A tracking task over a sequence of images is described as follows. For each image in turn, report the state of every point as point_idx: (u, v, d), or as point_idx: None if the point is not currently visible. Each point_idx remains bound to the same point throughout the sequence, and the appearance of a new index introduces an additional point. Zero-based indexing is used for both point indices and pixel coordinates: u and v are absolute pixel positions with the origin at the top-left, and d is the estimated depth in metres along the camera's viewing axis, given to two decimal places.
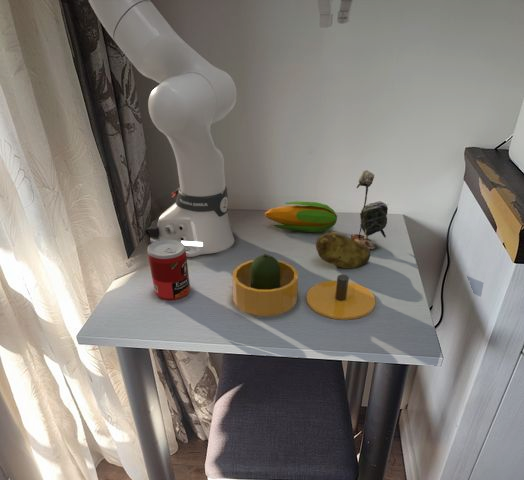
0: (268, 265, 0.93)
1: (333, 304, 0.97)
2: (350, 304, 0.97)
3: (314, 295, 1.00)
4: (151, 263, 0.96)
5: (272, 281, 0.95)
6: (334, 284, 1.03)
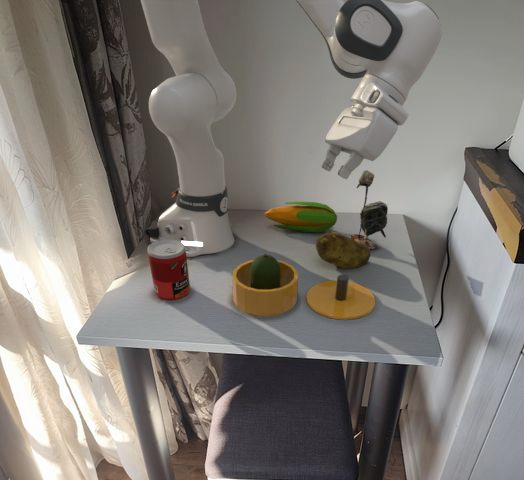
0: (268, 265, 0.93)
1: (333, 304, 0.97)
2: (350, 304, 0.97)
3: (314, 295, 1.00)
4: (151, 263, 0.96)
5: (272, 281, 0.95)
6: (334, 284, 1.03)
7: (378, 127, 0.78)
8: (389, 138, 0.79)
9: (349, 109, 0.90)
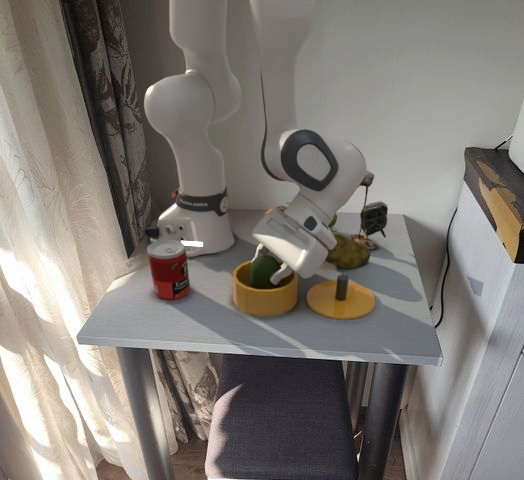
0: (268, 265, 0.93)
1: (333, 304, 0.97)
2: (350, 304, 0.97)
3: (314, 295, 1.00)
4: (151, 263, 0.96)
5: None
6: (334, 284, 1.03)
7: (314, 254, 0.87)
8: (321, 263, 0.89)
9: (278, 214, 0.97)
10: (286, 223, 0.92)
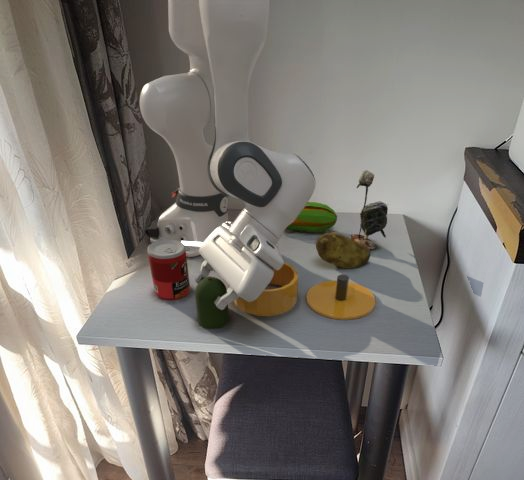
0: (212, 289, 0.87)
1: (333, 304, 0.97)
2: (350, 304, 0.97)
3: (314, 295, 1.00)
4: (151, 263, 0.96)
5: None
6: (334, 284, 1.03)
7: (257, 276, 0.81)
8: (266, 285, 0.83)
9: (225, 231, 0.91)
10: (230, 241, 0.86)
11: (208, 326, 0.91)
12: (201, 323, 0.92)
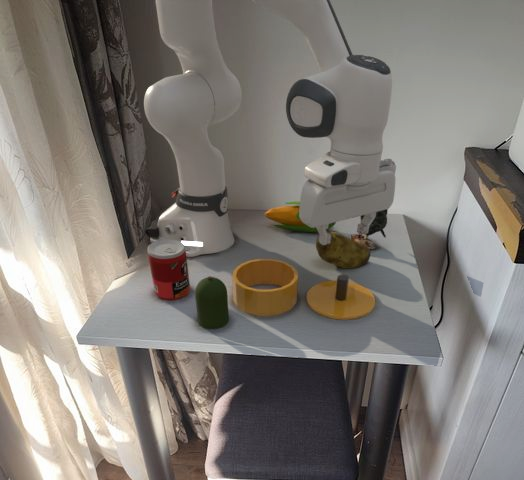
0: (212, 289, 0.87)
1: (333, 304, 0.97)
2: (350, 304, 0.97)
3: (314, 295, 1.00)
4: (151, 263, 0.96)
5: (218, 305, 0.89)
6: (334, 284, 1.03)
7: (303, 197, 0.81)
8: (312, 205, 0.80)
9: None
10: None
11: (208, 326, 0.91)
12: (201, 323, 0.92)
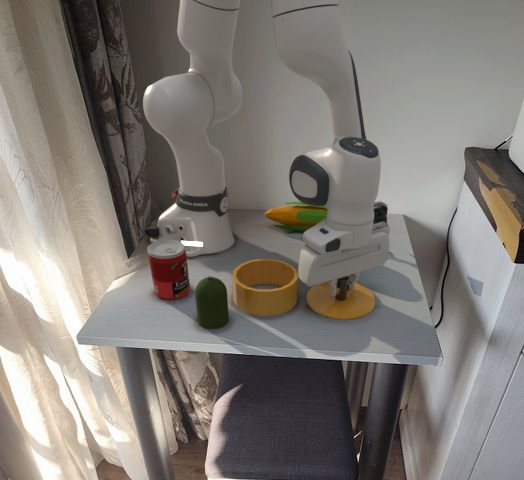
0: (212, 289, 0.87)
1: (333, 304, 0.97)
2: (350, 304, 0.97)
3: (314, 295, 1.00)
4: (151, 263, 0.96)
5: (218, 305, 0.89)
6: None
7: (301, 260, 0.89)
8: (309, 268, 0.88)
9: None
10: None
11: (208, 326, 0.91)
12: (201, 323, 0.92)
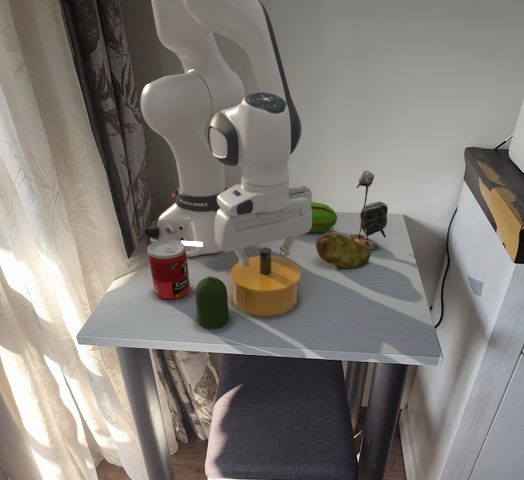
0: (212, 289, 0.87)
1: (256, 278, 0.94)
2: (274, 278, 0.94)
3: (239, 269, 0.97)
4: (151, 263, 0.96)
5: (218, 305, 0.89)
6: None
7: (216, 224, 0.86)
8: (222, 232, 0.84)
9: None
10: None
11: (208, 326, 0.91)
12: (201, 323, 0.92)
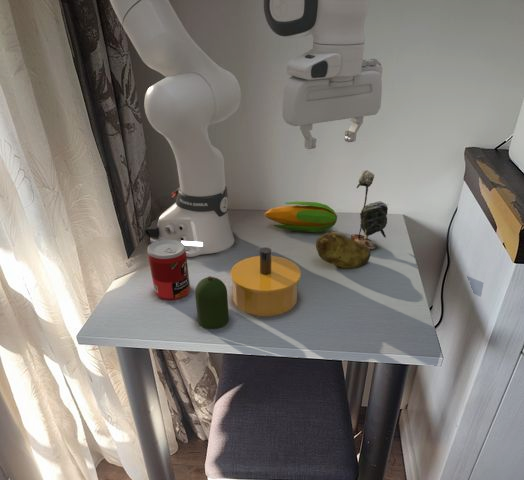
0: (212, 289, 0.87)
1: (256, 278, 0.94)
2: (274, 278, 0.94)
3: (239, 269, 0.97)
4: (151, 263, 0.96)
5: (218, 305, 0.89)
6: None
7: (286, 94, 0.82)
8: (294, 99, 0.80)
9: None
10: None
11: (208, 326, 0.91)
12: (201, 323, 0.92)
